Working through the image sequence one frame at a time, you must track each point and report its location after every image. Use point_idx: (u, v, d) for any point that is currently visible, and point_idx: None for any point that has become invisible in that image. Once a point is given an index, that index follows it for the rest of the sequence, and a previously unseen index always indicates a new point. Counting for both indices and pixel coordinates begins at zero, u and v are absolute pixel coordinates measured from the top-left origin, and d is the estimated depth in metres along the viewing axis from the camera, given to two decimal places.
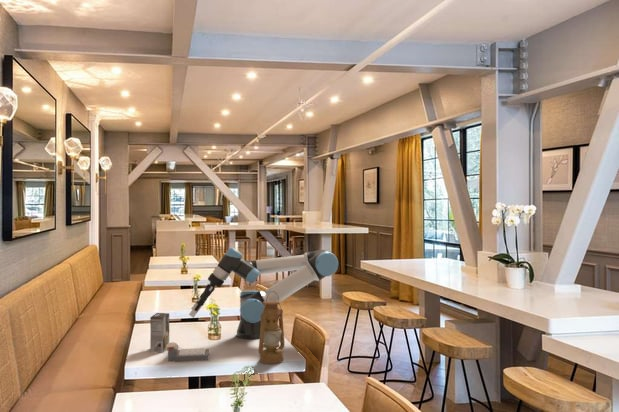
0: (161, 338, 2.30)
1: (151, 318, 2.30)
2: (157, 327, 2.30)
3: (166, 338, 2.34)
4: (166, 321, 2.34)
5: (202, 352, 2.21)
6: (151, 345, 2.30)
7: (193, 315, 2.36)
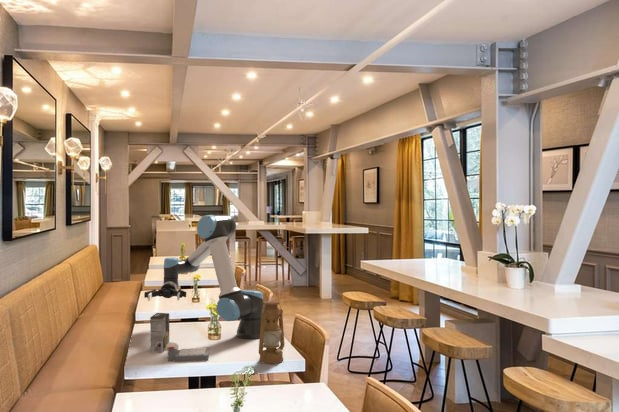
0: (161, 338, 2.30)
1: (151, 318, 2.30)
2: (157, 327, 2.30)
3: (166, 338, 2.34)
4: (166, 321, 2.34)
5: (202, 352, 2.21)
6: (151, 345, 2.30)
7: (148, 296, 2.43)
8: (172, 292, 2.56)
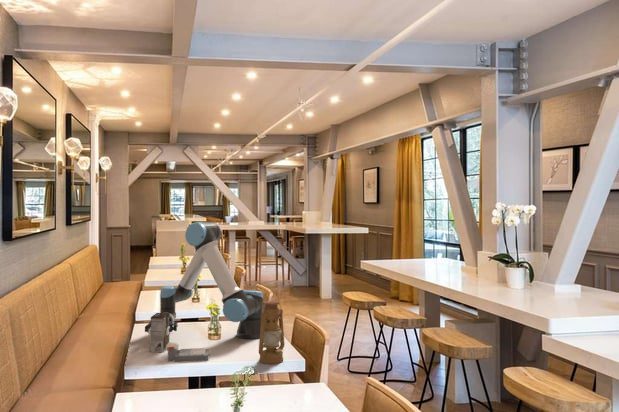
0: (161, 338, 2.30)
1: (151, 318, 2.30)
2: (157, 327, 2.30)
3: (166, 338, 2.34)
4: (166, 321, 2.34)
5: (202, 352, 2.21)
6: (151, 345, 2.30)
7: None
8: None
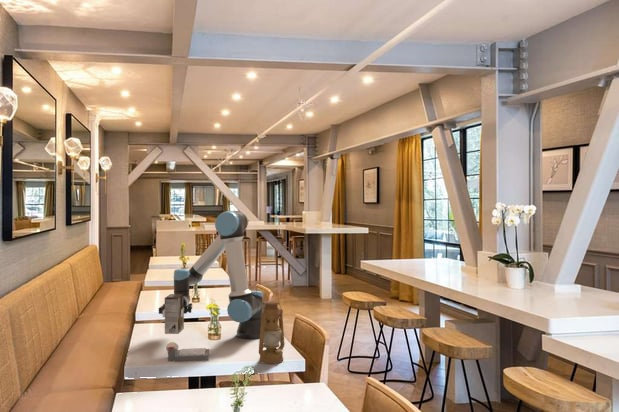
0: (176, 319, 2.23)
1: (165, 299, 2.23)
2: (171, 308, 2.22)
3: (180, 320, 2.26)
4: (181, 302, 2.26)
5: (202, 352, 2.21)
6: (166, 326, 2.23)
7: None
8: None
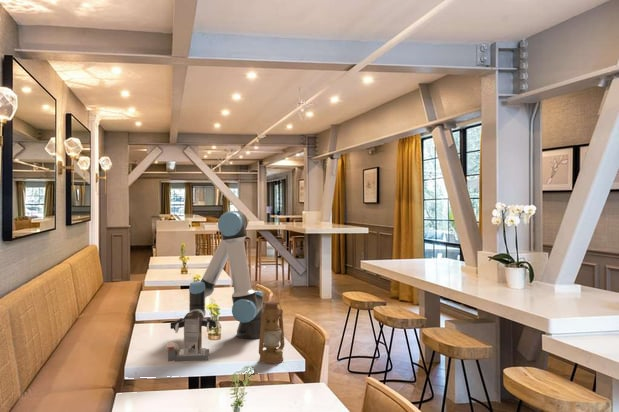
0: (196, 339, 2.18)
1: (185, 318, 2.17)
2: (191, 328, 2.17)
3: (199, 339, 2.21)
4: (199, 321, 2.22)
5: (202, 352, 2.21)
6: (185, 347, 2.18)
7: None
8: None
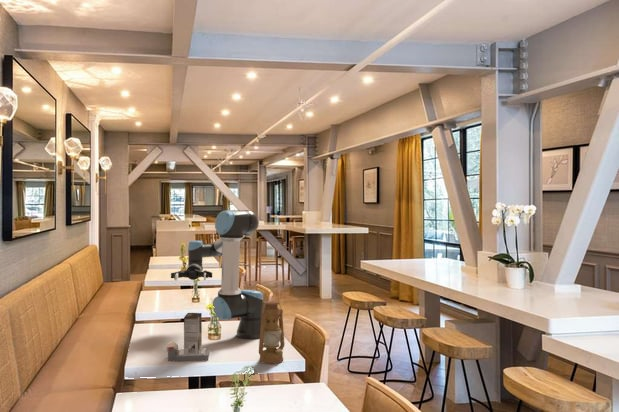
0: (196, 339, 2.18)
1: (185, 318, 2.17)
2: (191, 328, 2.17)
3: (199, 339, 2.21)
4: (199, 321, 2.22)
5: (202, 352, 2.21)
6: (185, 347, 2.18)
7: (175, 276, 2.45)
8: (198, 273, 2.57)
